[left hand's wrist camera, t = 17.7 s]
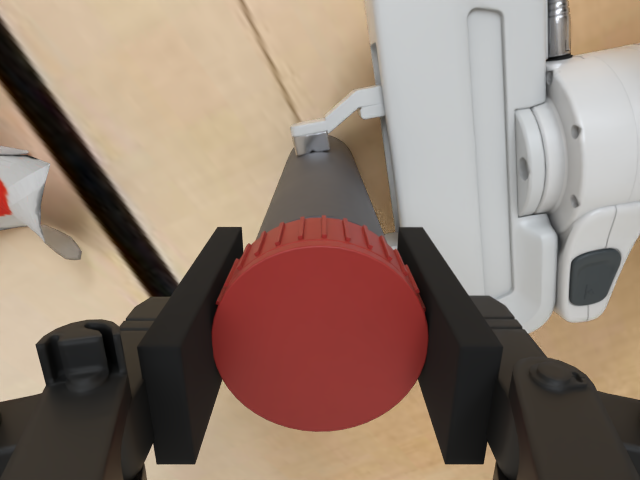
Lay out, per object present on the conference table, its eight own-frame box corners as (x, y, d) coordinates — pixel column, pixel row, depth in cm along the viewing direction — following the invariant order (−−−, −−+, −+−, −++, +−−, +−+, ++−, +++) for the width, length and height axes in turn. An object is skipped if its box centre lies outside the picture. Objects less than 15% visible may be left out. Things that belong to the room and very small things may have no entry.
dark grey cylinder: (287, 201, 30) (236, 395, 12) (286, 134, 28) (224, 237, 10) (353, 202, 30) (404, 396, 12) (356, 134, 28) (418, 238, 10)
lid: (425, 217, 11) (447, 246, 9) (404, 385, 13) (418, 438, 11) (221, 209, 11) (201, 237, 9) (228, 379, 13) (212, 431, 11)
